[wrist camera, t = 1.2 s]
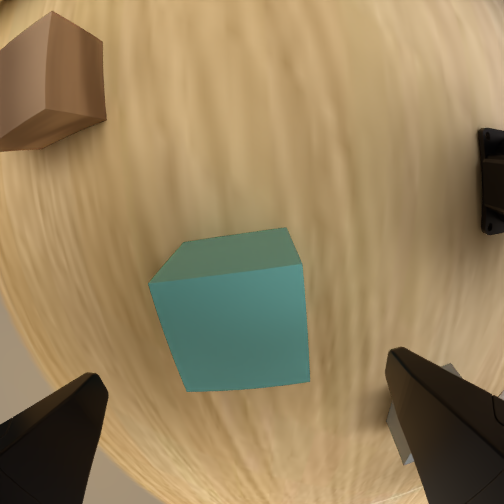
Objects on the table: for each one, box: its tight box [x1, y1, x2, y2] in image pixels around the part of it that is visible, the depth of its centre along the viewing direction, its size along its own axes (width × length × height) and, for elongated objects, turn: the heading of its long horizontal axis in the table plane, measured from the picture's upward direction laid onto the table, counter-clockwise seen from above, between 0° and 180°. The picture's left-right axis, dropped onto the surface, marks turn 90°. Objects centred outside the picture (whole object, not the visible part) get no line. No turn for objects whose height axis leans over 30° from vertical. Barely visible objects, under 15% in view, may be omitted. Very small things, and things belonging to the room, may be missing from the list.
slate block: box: [386, 363, 463, 465], centre depth 15 cm, size 5×5×5 cm
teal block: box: [148, 228, 310, 392], centre depth 12 cm, size 5×5×5 cm
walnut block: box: [0, 11, 107, 152], centre depth 9 cm, size 5×5×5 cm
